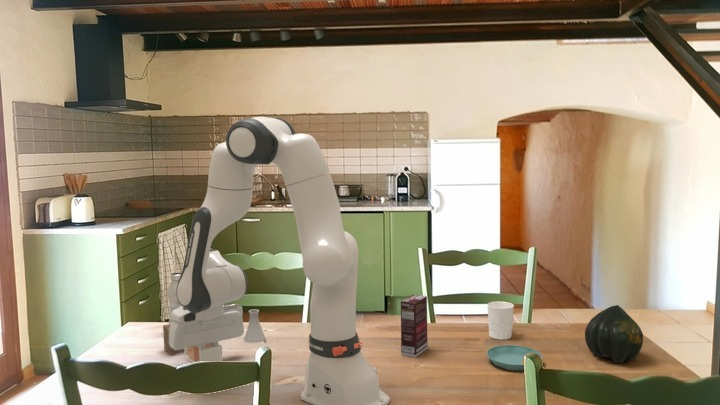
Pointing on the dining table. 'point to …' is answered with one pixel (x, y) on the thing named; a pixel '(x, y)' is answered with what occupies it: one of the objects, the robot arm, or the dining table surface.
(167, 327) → the tunnel
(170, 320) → the plastic bottle
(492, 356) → the saucer
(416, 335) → the supplement box
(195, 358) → the block
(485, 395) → the dining table surface
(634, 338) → the squash
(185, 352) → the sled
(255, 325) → the flask
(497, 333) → the white cup
